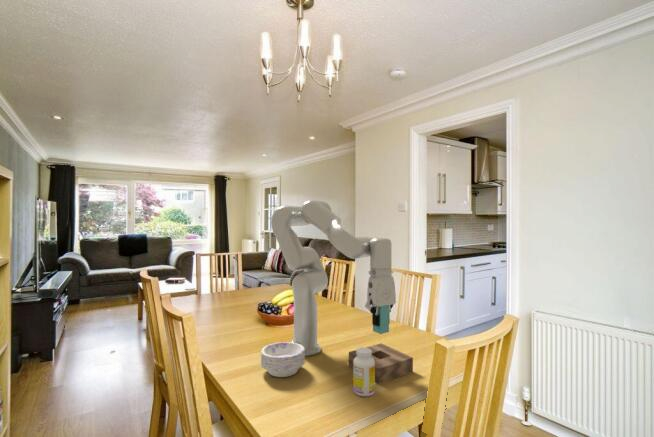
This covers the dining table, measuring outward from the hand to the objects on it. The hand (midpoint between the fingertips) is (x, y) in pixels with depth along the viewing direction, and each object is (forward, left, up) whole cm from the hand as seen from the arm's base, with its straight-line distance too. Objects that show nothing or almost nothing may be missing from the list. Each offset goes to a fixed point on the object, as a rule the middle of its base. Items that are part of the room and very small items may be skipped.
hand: (380, 323), depth 118 cm
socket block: (0, 0, -16) cm, 16 cm away
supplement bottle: (-15, -9, -16) cm, 24 cm away
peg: (0, 0, -3) cm, 3 cm away
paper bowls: (-30, +17, -16) cm, 38 cm away
